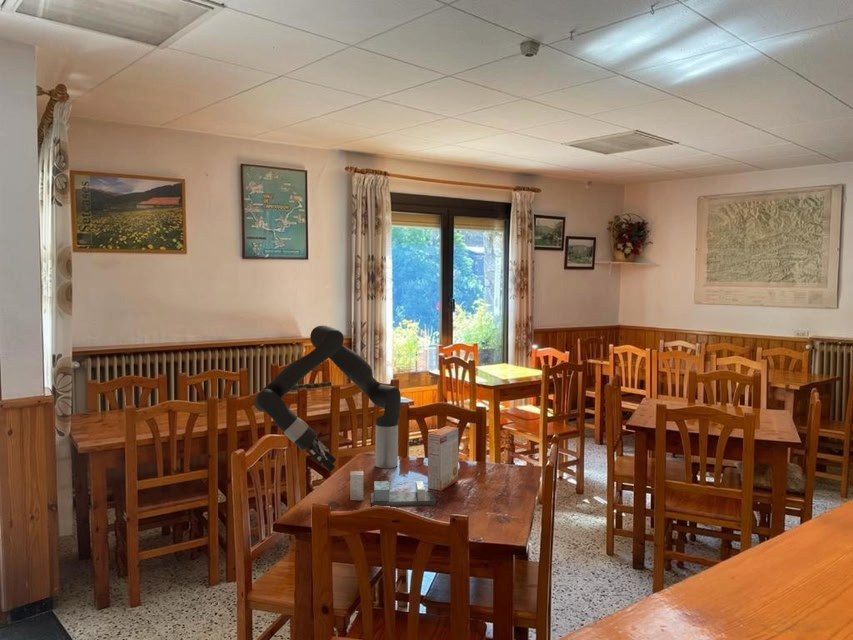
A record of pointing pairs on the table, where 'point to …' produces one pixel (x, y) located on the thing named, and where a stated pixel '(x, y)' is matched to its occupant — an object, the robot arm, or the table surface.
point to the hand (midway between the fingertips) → (333, 465)
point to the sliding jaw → (381, 491)
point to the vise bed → (408, 497)
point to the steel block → (356, 485)
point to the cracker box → (442, 458)
